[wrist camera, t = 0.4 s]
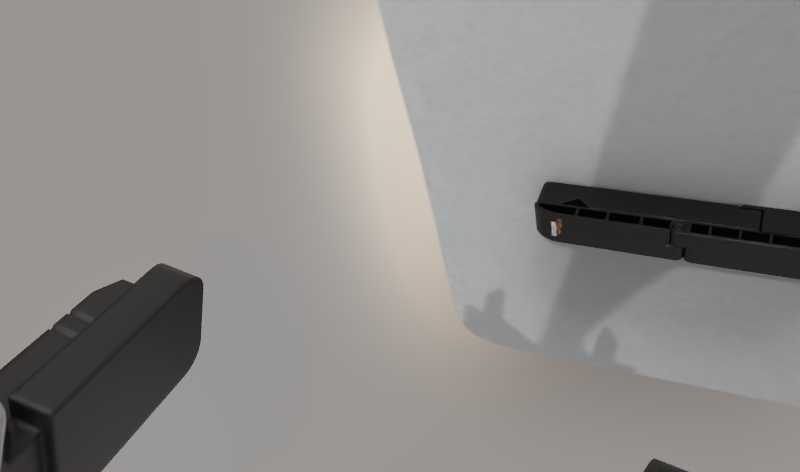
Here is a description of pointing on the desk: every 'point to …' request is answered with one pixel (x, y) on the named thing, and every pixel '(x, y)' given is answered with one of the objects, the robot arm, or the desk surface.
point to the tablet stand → (672, 228)
